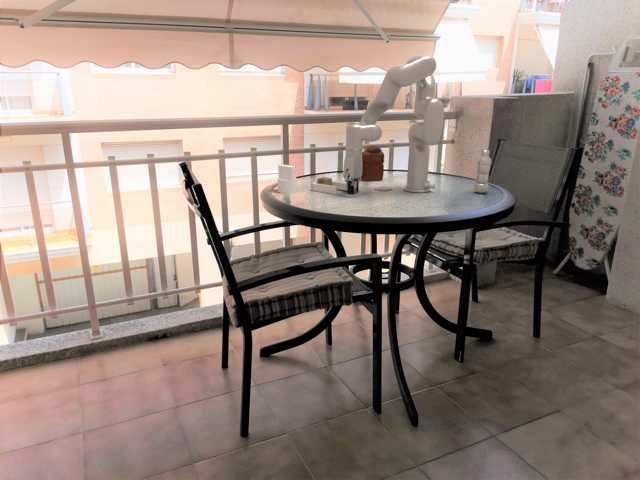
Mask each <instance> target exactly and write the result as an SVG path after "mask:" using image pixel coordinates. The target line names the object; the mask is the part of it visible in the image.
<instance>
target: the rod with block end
mask: <svg viewBox="0 0 640 480" xmlns="http://www.w3.org/2000/svg"><path fill="white" fill-rule="evenodd" d="M332 180H333V178H332V177H326V176H321V177H318V178H316V182H317V184H324V185H331V186H332ZM353 186H354V194H356V187H357V181H354V183H353ZM337 191H343V192H347V190H341V189H337Z"/></svg>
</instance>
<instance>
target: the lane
mask: <svg viewBox="0 0 640 480" xmlns="http://www.w3.org/2000/svg"><path fill="white" fill-rule="evenodd" d="M337 189H341V190H347V182H341V181H334V180H333V181H332V186H331V185H324V184H317V181H314V182H311V183H310V190H311V191H312V192H319V193H325V194H330V195H336V194H338V193H341V192H343V191H337Z"/></svg>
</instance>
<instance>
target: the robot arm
mask: <svg viewBox="0 0 640 480" xmlns="http://www.w3.org/2000/svg"><path fill="white" fill-rule="evenodd" d="M436 69H437V61H436V59H435V58H434V57H433V56H432V55H417V56H412V57H410V58H408V60H407V62H406V64H404V65H399V66H397V65H395V66H392V67H390V68H389V69H388V70H387V71H386V73H385V76H384V78H383V79H382V83H381V85H380V87H379V89H378V91H377V94H376V96H375V98H374V99H373V101H371V103H370V105H369V106H368V107H367V108H366V109H365V111H364V112H363V115H362V117H361V119H360V121H359V123H358V124H357V123H355V124H353V123H352V124H347V126H346V129H345V156H344V161H343V171H342V178H343V179H344V182H345V183H347V193H348V194H354V186H353V183H354V181H357V187H356V193H358V191H359V184H360V180H361V177H362V152H364V151H363V148H364V147H363V146H364V141H365V142H377V141H379V140H380V139H381V138H382V136H383V131H382V129H381V127H380V126H379V125H377V122H378V120H379V118H380V117H381V116H382V115H383V114H384V113H385V112H387V111H389V110H390V109H392V107H393V106H394V105H395V102H396V100H397V98H398V95H399V93H400V91H401V89H402V88H405V87H408V86H411V85H414V84H415V98H414V105H413V114H414V116H415V117H416V118H418V119H420V120H423V121H418V122H414V123H412V125H411V126H410V127H409V129H408V134H407V135H408V136H407V137H408V138H407V139H408V162H407V175H406V185H404V186H403V188H402V189H403V191H406V192H409V193H428V192H429V191H431V189H433V190H435V189H436V185H435V183H430V180H428V177H429V166H430V165H429V163H430V147H431V146H434V145H436V144H437V143H438V142H439V141H440V139H441V136H442V133H443V125H444V118H445V107H444V103H443V102H442V101H441V100H440V99H439V98H436V97H435V96H436V80H435V76H434V75H433V74H434V73H435V72H436Z"/></svg>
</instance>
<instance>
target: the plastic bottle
mask: <svg viewBox="0 0 640 480" xmlns="http://www.w3.org/2000/svg"><path fill="white" fill-rule="evenodd" d="M490 152H491V151H490V149H481V152H480V156H479V157H478V158H477V161H476V169H477V170H476V178H475V182H474V185H473V191H474V192H475V193H477V192H478V193H477V194H486V193H488V191H489V173H490V169H491V166H492V158H491V157H490Z"/></svg>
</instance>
